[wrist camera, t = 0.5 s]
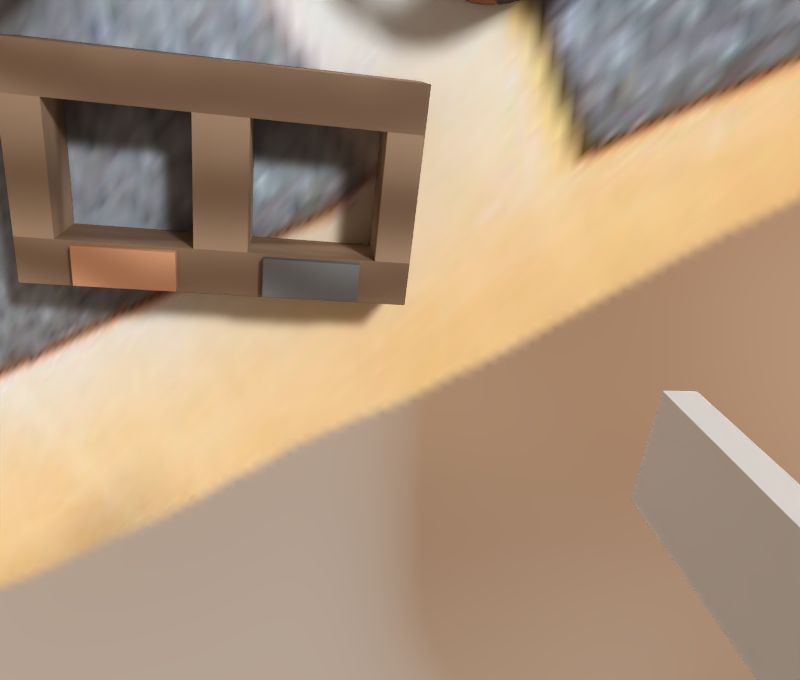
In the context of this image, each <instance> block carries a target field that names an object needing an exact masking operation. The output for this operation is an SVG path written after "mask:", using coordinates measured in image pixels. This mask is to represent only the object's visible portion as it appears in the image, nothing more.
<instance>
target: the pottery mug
mask: <svg viewBox="0 0 800 680" xmlns="http://www.w3.org/2000/svg"><path fill="white" fill-rule="evenodd" d="M466 1H468V2H472V3H477V4H488V5H494V4H507V3H511V2H514V1H519V0H466Z"/></svg>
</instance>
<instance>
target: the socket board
mask: <svg viewBox="0 0 800 680" xmlns="http://www.w3.org/2000/svg"><path fill="white" fill-rule="evenodd" d="M430 89H431V85H430V84H427V83H424V82H421V81H412V80H404V79H395V78H386V77H378V76H369V75H360V74H352V73H343V72H334V71H326V70H317V69H308V68H299V67H291V66H282V65H273V64H265V63H256V62H247V61H239V60H230V59H221V58H213V57H204V56H195V55H187V54H178V53H169V52H161V51H152V50H143V49H134V48H126V47H117V46H108V45H100V44H91V43H82V42H74V41H65V40H56V39H48V38H39V37H30V36H22V35H5V34H0V137H1V145H2V153H3V161H4V169H5V177H6V185H7V193H8V201H9V208H10V216H11V224H12V232H13V240H14V248H15V256H16V264H17V272H18V280H19V283H36V284H53V285H70V286H87V287H105V288H122V289H139V290H156V291H173V292H190V293H207V294H224V295H241V296H258V297H276V298H293V299H310V300H327V301H344V302H361V303H378V304H395V305H404V304H405V296H406V287H407V279H408V271H409V263H410V254H411V246H412V238H413V230H414V221H415V213H416V205H417V196H418V188H419V180H420V172H421V163H422V155H423V147H424V139H425V130H426V122H427V114H428V106H429V97H430ZM63 99H67V100H77V101H87V102H97V103H107V104H116V105H126V106H136V107H146V108H156V109H166V110H176V111H185V112H191V119H192V189H193V232H183V231H169V230H155V229H142V228H128V227H114V226H101V225H87V224H74V217H73V205H72V194H71V182H70V171H69V159H68V148H67V136H66V125H65V113H64V102H63ZM255 119H264V120H274V121H284V122H294V123H304V124H313V125H323V126H333V127H343V128H353V129H363V130H373V131H381V133H380V143H379V154H378V165H377V175H376V186H375V196H374V207H373V217H372V228H371V238H370V245H361V244H348V243H334V242H320V241H306V240H293V239H279V238H265V237H252V214H253V168H254V123H255Z"/></svg>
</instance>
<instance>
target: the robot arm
mask: <svg viewBox="0 0 800 680" xmlns="http://www.w3.org/2000/svg"><path fill="white" fill-rule="evenodd" d="M631 500H632V502H633V503H634V505H635V506H636V508H637V509H638V511H639V512H640V513H641V515H642V516H643V518H644V519H645V521H646V522H647V523H648V525H649V526H650V528H651V529H652V531H653V532H654V533H655V535H656V536H657V538H658V539H659V541H660V542H661V543H662V545H663V546H664V548H665V549H666V550H667V552H668V553H669V555H670V556H671V557H672V559H673V561H674V562H675V564H676V565H677V566H678V568H679V569H680V571H681V572H682V573H683V575H684V576H685V578H686V579H687V581H688V582H689V583H690V585H691V586H692V588H693V589H694V591H695V592H696V593H697V595H698V596H699V598H700V599H701V601H702V602H703V604H704V605H705V606H706V608H707V609H708V611H709V612H710V613H711V615H712V616H713V618H714V619H715V621H716V622H717V624H718V625H719V626H720V628H721V629H722V631H723V632H724V634H725V635H726V637H727V638H728V639H729V641H730V642H731V644H732V645H733V646H734V648H735V649H736V651H737V652H738V654H739V655H740V657H741V658H742V659H743V661H744V662H745V664H746V665H747V666H748V668H749V669H750V671H751V672H752V674H753V675H754V677H755V678H756V679H757V680H800V485H799V484H798V483H797V482H796V481H795V480H794V479H793V478H792V477H790V476H789V475H788V474H787V473H786V472H785V471H784V470H783V469H782V468H781V467H780V466H779V465H777V464H776V463H775V462H774V461H773V460H772V459H771V458H770V457H769V456H768V455H766V454H765V453H764V452H763V451H762V450H761V449H760V448H759V447H757V445H755V444H754V443H753V442H752V441H751V440H750V439H749V438H748V437H747V436H746V435H744V434H743V433H742V432H741V431H740V430H739V429H738V428H737V427H736V426H735V425H733V424H732V423H731V422H730V421H729V420H728V419H727V418H726V417H725V416H724V415H722V414H721V413H720V412H719V411H718V410H717V409H716V408H715V407H714V406H713V405H712V404H710V403H709V402H708V401H707V400H706V399H705V398H704V397H703V396H702V395H700V394H699V393H698V392H697V391H662V395H661V398H660V402H659V405H658V409H657V412H656V416H655V419H654V423H653V426H652V430H651V433H650V437H649V440H648V444H647V447H646V450H645V454H644V458H643V461H642V465H641V468H640V472H639V475H638V478H637V482H636V485H635V489H634V493H633V496H632V499H631Z"/></svg>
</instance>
